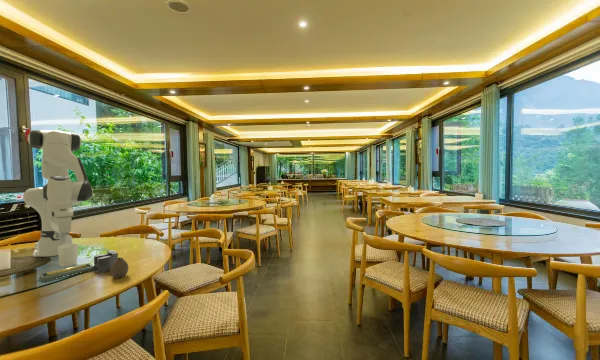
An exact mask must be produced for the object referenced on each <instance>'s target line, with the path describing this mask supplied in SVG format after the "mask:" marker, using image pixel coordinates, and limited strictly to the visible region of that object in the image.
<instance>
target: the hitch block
mask: <svg viewBox="0 0 600 360" xmlns="http://www.w3.org/2000/svg"><path fill="white" fill-rule="evenodd" d="M106 252H107V253H103V254H98V255H93V266H94V270H93V271H95V272H96V273H97V274H103V273H106V272H111V266H112V265H113V263H114V262H115V261H116V259H117V258H119V253H118V252H117V251H115V250H114V249H110V250H107V251H106Z"/></svg>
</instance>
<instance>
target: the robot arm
mask: <svg viewBox="0 0 600 360" xmlns="http://www.w3.org/2000/svg"><path fill="white" fill-rule="evenodd" d="M27 142H28V144H29V146H30V147H31V148H32V149H36V150H42V155H41V156H42V158H41V176H42V177H43V178H44V179H45V180H46V181H47V183H46V184H45V185H43V186H41V187H39V186H38V187H34V188H28V189H27V190H25V191H24V192H23V196H22V199H23V202H24V203H25V204H26V205H27V206H29V207H31V208H33V209H34V210H35V211H36V212H37V213H38V215H39V217H40V220H41V230H40V238H39V240H38V241H37V242H35V243H34V247H35V249H34V251H33V253H32V257H33V258H36V257H37V258H38V257H54V256H59V255H58V246H61V245H65V244H73V236H71V235H69V234H70V232H71V230H72V222H73V221H72V220H73V219H72V217H73V216H74V211H73V205H77V204H81V202H86V201H88V200H90V199H91V198H92V197H93V194H94V189H93V187H92V185H91V183H90V181H89V178H88V176H87V172H86V170H85V167H84V165H83V162H82V160H81V158H80V157H79V156H77V155H75V154H74V153H73V152H77V151H78V150H79V149H80V148H81V146H82V139H81V137H80V135H79V134H78V133H75V132H67V131H62V130H41V129H32V130H30V132H29V133H28V135H27ZM69 170H70V171H73V173H74V174H75V178H76V180H77V181H72V179H71V177H69V176H70V175H69Z"/></svg>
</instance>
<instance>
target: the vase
mask: <svg viewBox="0 0 600 360" xmlns="http://www.w3.org/2000/svg"><path fill="white" fill-rule="evenodd" d="M128 272H129V264H128V262H127V261H126V260H125V259H124V258H123V257H118V258H117V259H116V261H115V262H114V263H113V265H112V266H111V271H110V274H111V277H113V278H114V279H121V278H124V277H125V276H126V275H127V274H128Z"/></svg>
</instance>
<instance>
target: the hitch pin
mask: <svg viewBox="0 0 600 360" xmlns="http://www.w3.org/2000/svg"><path fill="white" fill-rule="evenodd" d="M84 264H85V265H83V264H80V266H79V265H75V266H76V267H74V266H70V267H71V268H69V267H66V269H64V268H62V269H61V268H60V269H61V270H60V269H56V270H57V271H55V270H51V271H52V272H50V271H46V272H47V276H50V275H55V274H59V273H64V272H68V271H73V270H78V269H82V268H87V266H86V264H87V263H84Z"/></svg>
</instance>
